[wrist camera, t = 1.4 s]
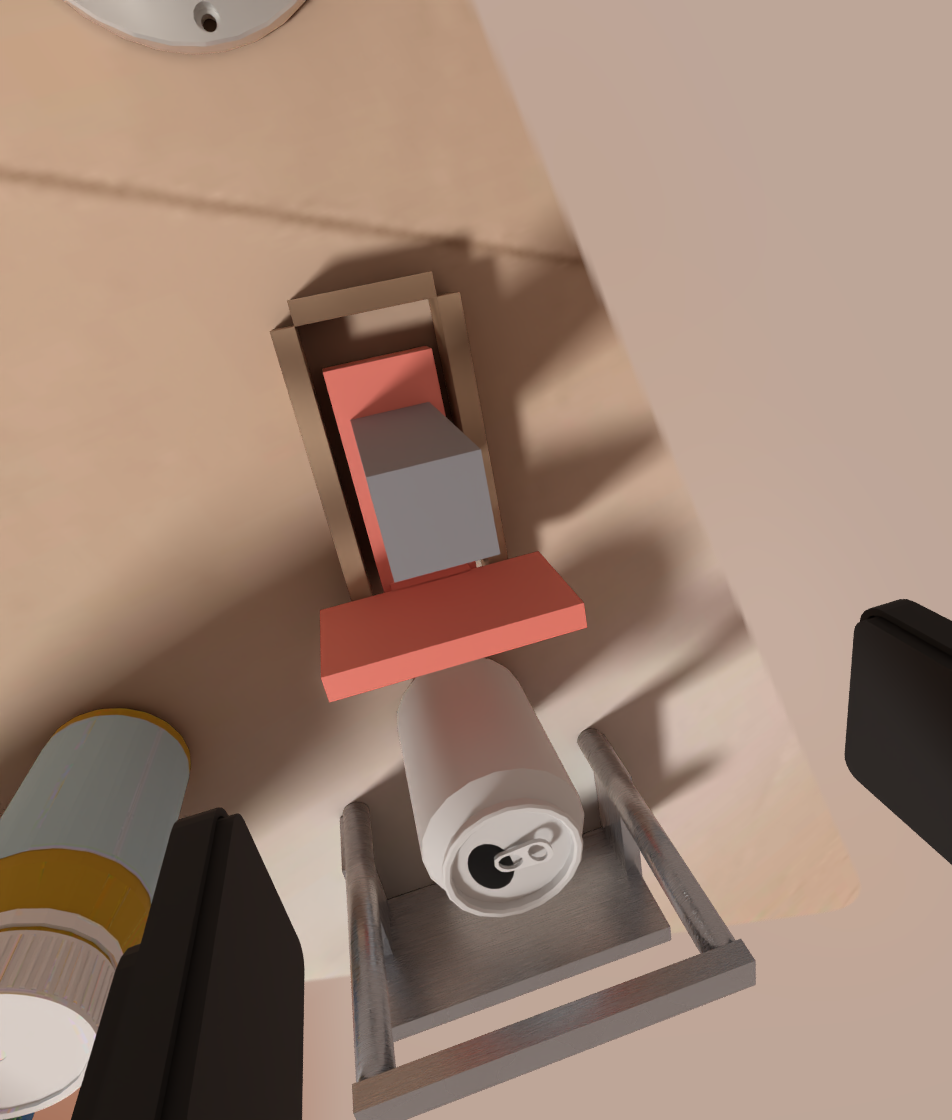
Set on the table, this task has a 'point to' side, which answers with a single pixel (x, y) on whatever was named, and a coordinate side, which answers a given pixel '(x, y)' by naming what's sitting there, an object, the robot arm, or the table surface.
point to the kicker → (426, 539)
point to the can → (487, 791)
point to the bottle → (78, 890)
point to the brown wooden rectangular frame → (310, 418)
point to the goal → (523, 957)
